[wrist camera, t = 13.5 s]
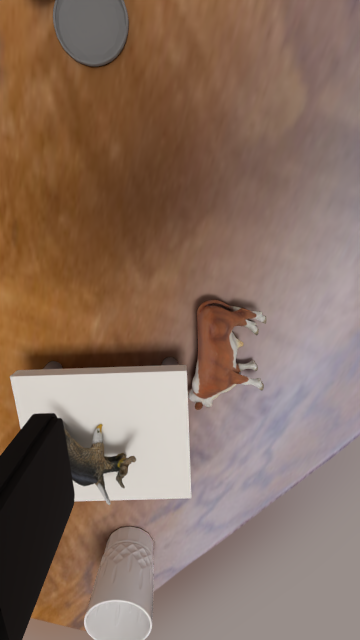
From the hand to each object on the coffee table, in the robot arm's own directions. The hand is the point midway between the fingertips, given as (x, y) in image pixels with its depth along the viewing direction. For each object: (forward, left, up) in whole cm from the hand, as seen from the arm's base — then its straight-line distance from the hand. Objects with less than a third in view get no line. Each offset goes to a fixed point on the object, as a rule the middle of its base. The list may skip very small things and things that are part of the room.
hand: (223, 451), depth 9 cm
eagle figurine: (+11, +16, -22) cm, 30 cm away
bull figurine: (-8, +9, -26) cm, 29 cm away
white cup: (+10, +38, -28) cm, 49 cm away
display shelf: (+10, +16, -28) cm, 34 cm away
